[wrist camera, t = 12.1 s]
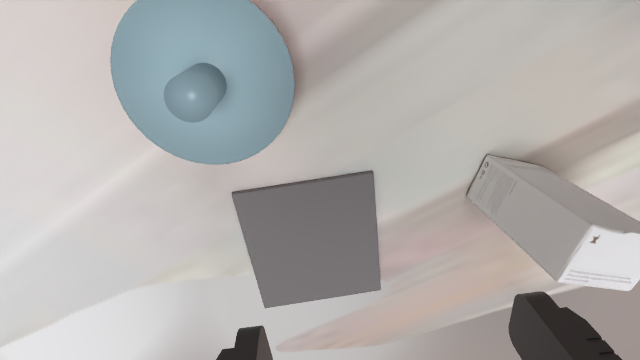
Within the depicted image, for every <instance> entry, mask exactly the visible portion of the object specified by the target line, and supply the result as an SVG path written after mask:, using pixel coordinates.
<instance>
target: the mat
mask: <svg viewBox="0 0 640 360" xmlns="http://www.w3.org/2000/svg"><path fill="white" fill-rule="evenodd" d="M232 198H233V201H234V205H235V208H236V211H237V215H238V218H239V222H240V225H241V229H242V232H243V235H244V239H245V242H246V246H247V249H248V253H249V256H250V259H251V263H252V266H253V270H254V273H255V276H256V280H257V283H258V287H259V290H260V294H261V297H262V300H263V303H264V307H265V308H269V307H275V306H282V305H289V304H295V303H301V302H307V301H314V300H320V299H326V298H333V297H339V296H346V295H352V294H358V293H365V292H371V291H377V290H381V285H380V269H379V253H378V237H377V221H376V205H375V189H374V173H373V171H367V172H361V173H354V174H348V175H341V176H335V177H328V178H322V179H315V180H309V181H302V182H296V183H289V184H283V185H276V186H270V187H263V188H256V189H250V190H243V191H237V192H232Z"/></svg>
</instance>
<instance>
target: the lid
mask: <svg viewBox="0 0 640 360" xmlns="http://www.w3.org/2000/svg"><path fill="white" fill-rule="evenodd" d="M111 74H112V78H113V83H114V87H115V90H116V93H117V96H118V98H119V100H120V102H121V104H122V107H123V109H124V110H125V112H126V113H127V115H128V116H129V118H130V119H131V121H132V122H133V123H134V124H135V126H136V127H137V128H138V129H139V130H140V131H141V132H142V133H143V134H144V135H145V136H146V137H147V138H148V139H149V140H151V141H152V142H153V143H154V144H156V145H157V146H159V147H160V148H162V149H163V150H165V151H167V152H169V153H171V154H173V155H175V156H177V157H180V158H182V159H185V160H188V161H192V162H196V163H203V164H229V163H233V162H238V161H241V160H244V159H247V158H249V157H251V156H253V155H255V154H257V153H259V152H260V151H261V150H263V149H264V148H266V147H267V146H268V145H269V144H270V143H271V142H272V141H273V140H274V139H275V138H276V137H277V136H278V134H279V133H280V132H281V130H282V129H283V127H284V125H285V123H286V121H287V119H288V117H289V114H290V111H291V108H292V104H293V98H294V84H295V82H294V71H293V65H292V61H291V57H290V54H289V51H288V49H287V46H286V44H285V42H284V40H283V38H282V36H281V34H280V33H279V31H278V30H277V28H276V27H275V25H274V24H273V22H272V21H271V20H270V19H269V18H268V17H267V15H266V14H265V13H264V12H263V11H261V10H260V9H259V8H258V7H257V6H256V5H255V4H253V3H252V2H250V1H249V0H137V1H136V2H135V3H134V4H133V5H132V6H131V7H130V8H129V9H128V10H127V12H126V13H125V14H124V16H123V18H122V19H121V21H120V23H119V24H118V27H117V29H116V32H115V35H114V38H113V43H112V47H111Z"/></svg>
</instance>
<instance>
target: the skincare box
mask: <svg viewBox="0 0 640 360" xmlns="http://www.w3.org/2000/svg"><path fill="white" fill-rule="evenodd" d="M467 197H468V198H469V199H470V200H471V201H472V202H473V203H474V204H475V205H476V206H477V207H478V208H479V209H480V210H481V211H482V212H484V213H485V214H486V215H487V216H488V217H489V218H490V219H491V220H492V221H493V222H494V223H495V224H496V225H497V226H498V227H499V228H500V229H501V230H503V231H504V232H505V233H506V234H507V235H508V236H509V237H510V238H511V239H512V240H513V241H514V242H515V243H516V244H517V245H519V246H520V247H521V248H522V249H523V250H524V251H525V252H526V253H527V254H528V255H529V256H530V257H531V258H532V259H533V260H534V261H536V262H537V263H538V264H539V265H540V266H541V267H542V268H543V269H544V270H545V271H546V272H547V273H548V274H549V275H550V276H551V277H552V278H553V279H554V280H555V281H556V282H558V283H566V284H574V285H583V286H591V287H599V288H607V289H615V290H623V291H630V290H631V289H632V288H633V287H634V286H635V284H636V283H637V282H638V281H639V280H640V222H639V221H637V220H636V219H634V218H632V217H630V216H629V215H627V214H625V213H623V212H621V211H620V210H618V209H616V208H615V207H613V206H611V205H609V204H608V203H606V202H604V201H602V200H601V199H599V198H597V197H595V196H594V195H592V194H590V193H588V192H587V191H585V190H583V189H581V188H580V187H578V186H576V185H574V184H573V183H571V182H569V181H567V180H566V179H564V178H562V177H560V176H559V175H557V174H555V173H553V172H552V171H550V170H548V169H547V168H545V167H543V166H540V165H535V164H530V163H526V162H521V161H517V160H512V159H507V158H501V157H495V156H492V155H487V156H486V158H485V160H484V162H483V164H482V166H481V168H480V170H479V172H478V174H477V176H476V177H475V179H474V181H473V183H472V185H471V187H470V189H469V191H468V192H467Z"/></svg>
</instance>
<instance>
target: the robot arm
mask: <svg viewBox="0 0 640 360" xmlns="http://www.w3.org/2000/svg"><path fill="white" fill-rule="evenodd" d="M509 335H510V338H511V341H512V344H513V346H514V347H515V349H516V351H517V352H518V354H519V355H520V357H521V359H522V360H622V359H621V358H620V357H619V356H618V355H616V354H615V353H614V351H613V349H612V348H611V347H610V346H609V345H608V344H607V343H606V342H605V341H603V340H602V339H601V336H600V335H599V334H598V333H597V332H596V331H595V330H594V328H593V327H591V325H590V324H589V323H588V322H587V321H586V320H585V319H583V318H582V317H580V316H579V315H577V314H576V313H574V312H573V311H571V310H570V309H568V308H567V307H565V308H559V307H558V306H557V305H556V303H555V302H554V301H553V300H552V299H551V297H550V296H549V295H548V294H546V293H545V292H541V291H540V292H532V293H525V294H518V295H516V296H515V299H514V303H513V308H512V314H511V318H510V323H509ZM216 360H273V358H272V354H271V350H270V347H269V343H268V340H267V337H266V333H265V329H264V327H263V326H255V327H247V328H240V329H239V330H238V332H237V336H236V342H235V347H234V348H231V349H223V350H222V351H221V353H220V354H219V356H218V358H217V359H216Z"/></svg>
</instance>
